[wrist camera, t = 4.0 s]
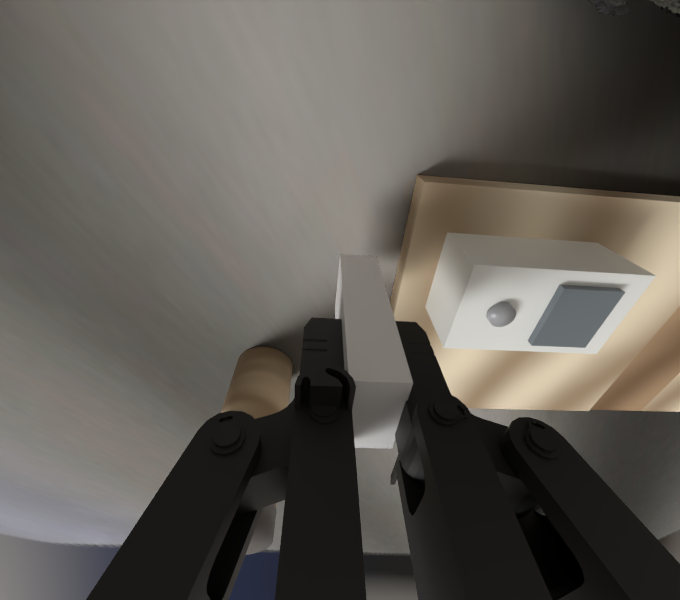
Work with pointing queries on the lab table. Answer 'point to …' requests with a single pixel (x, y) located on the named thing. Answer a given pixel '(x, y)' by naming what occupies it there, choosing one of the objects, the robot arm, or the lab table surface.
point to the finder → (530, 293)
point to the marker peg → (260, 410)
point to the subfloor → (556, 224)
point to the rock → (614, 3)
